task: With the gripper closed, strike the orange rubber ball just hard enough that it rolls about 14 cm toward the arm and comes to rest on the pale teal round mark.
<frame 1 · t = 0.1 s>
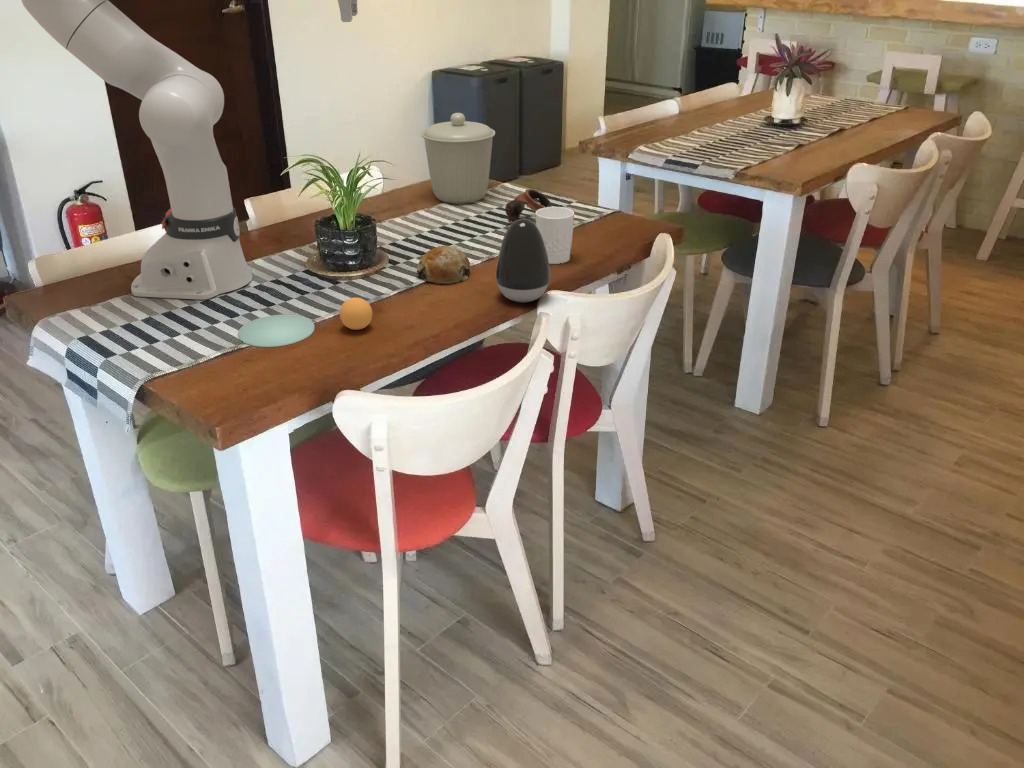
hand: (349, 18, 152), 48 cm above the table, tool pointing down, fingers open, 8 cm apart
brown curved piece: (525, 222, 206), on the table
canister: (460, 199, 223), on the table
bread roll: (443, 277, 176), on the table
ball: (356, 313, 153), on the table
white cup: (553, 259, 184), on the table
dark grey egg shape: (523, 297, 166), on the table
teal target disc: (276, 330, 153), on the table
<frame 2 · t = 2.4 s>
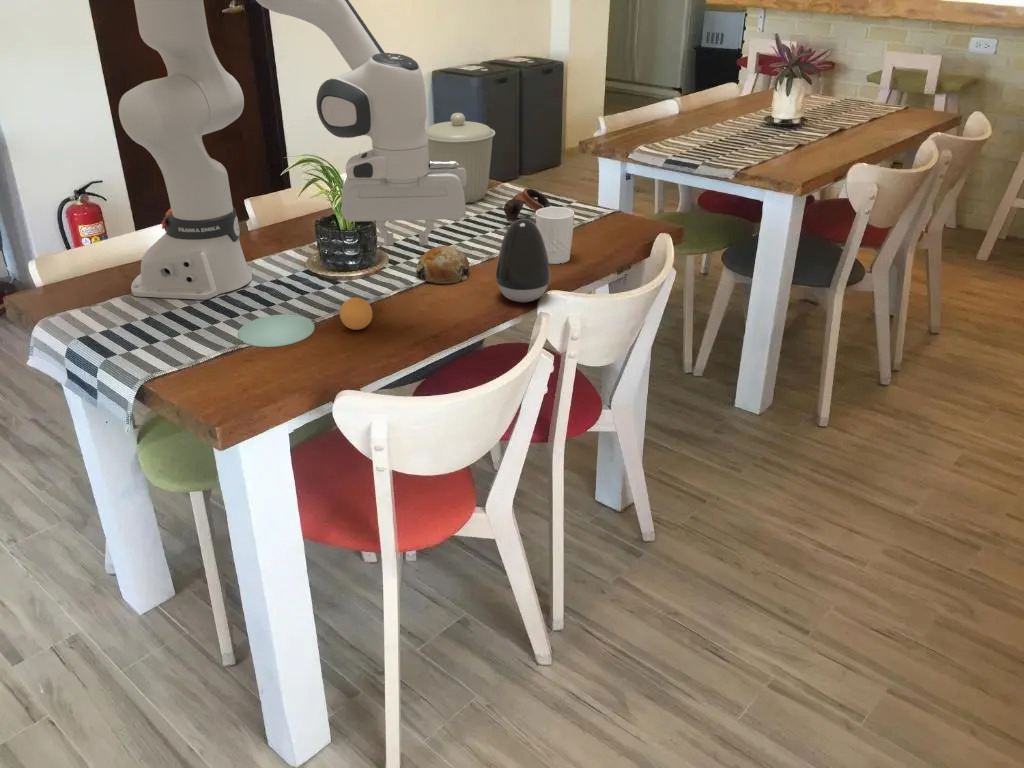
hand: (406, 244, 147), 15 cm above the table, tool pointing down, fingers open, 4 cm apart
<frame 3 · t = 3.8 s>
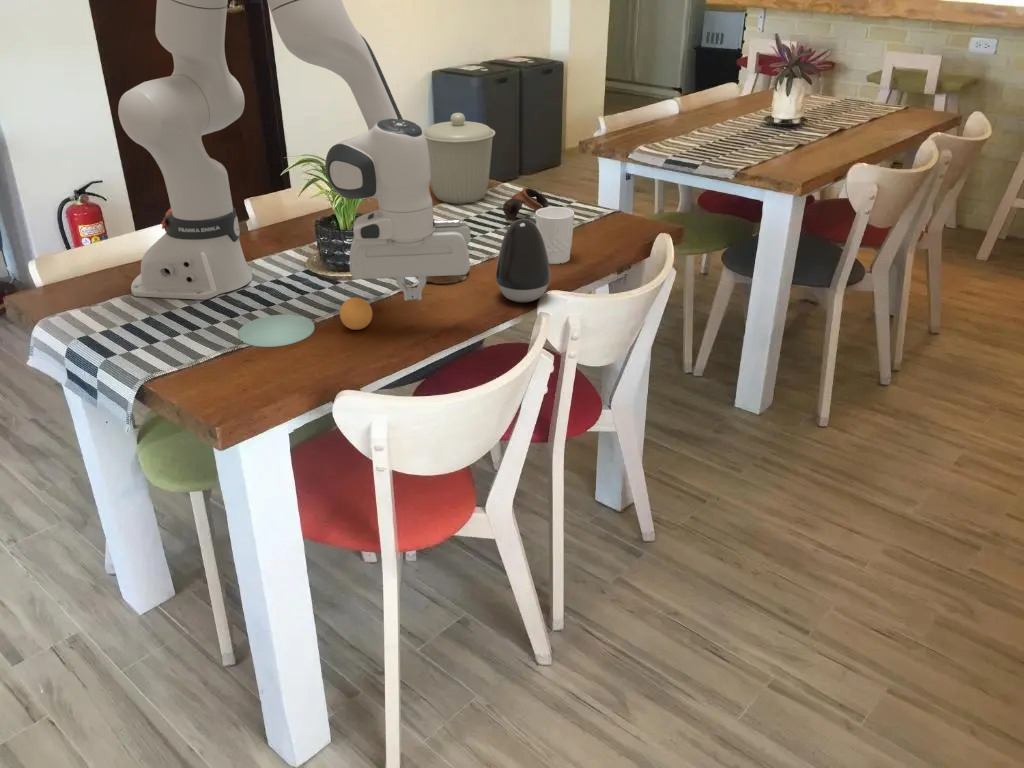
hand: (413, 299, 152), 5 cm above the table, tool pointing down, fingers closed
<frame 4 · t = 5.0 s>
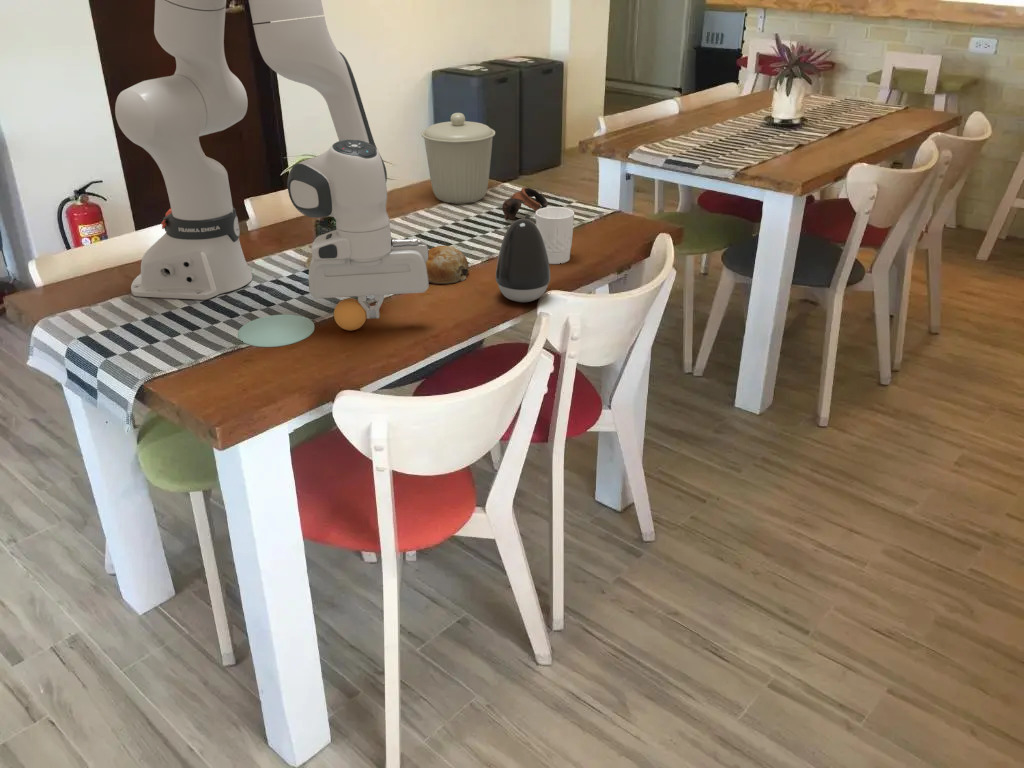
hand: (373, 317, 153), 2 cm above the table, tool pointing down, fingers closed
ball: (350, 314, 152), on the table, touching gripper
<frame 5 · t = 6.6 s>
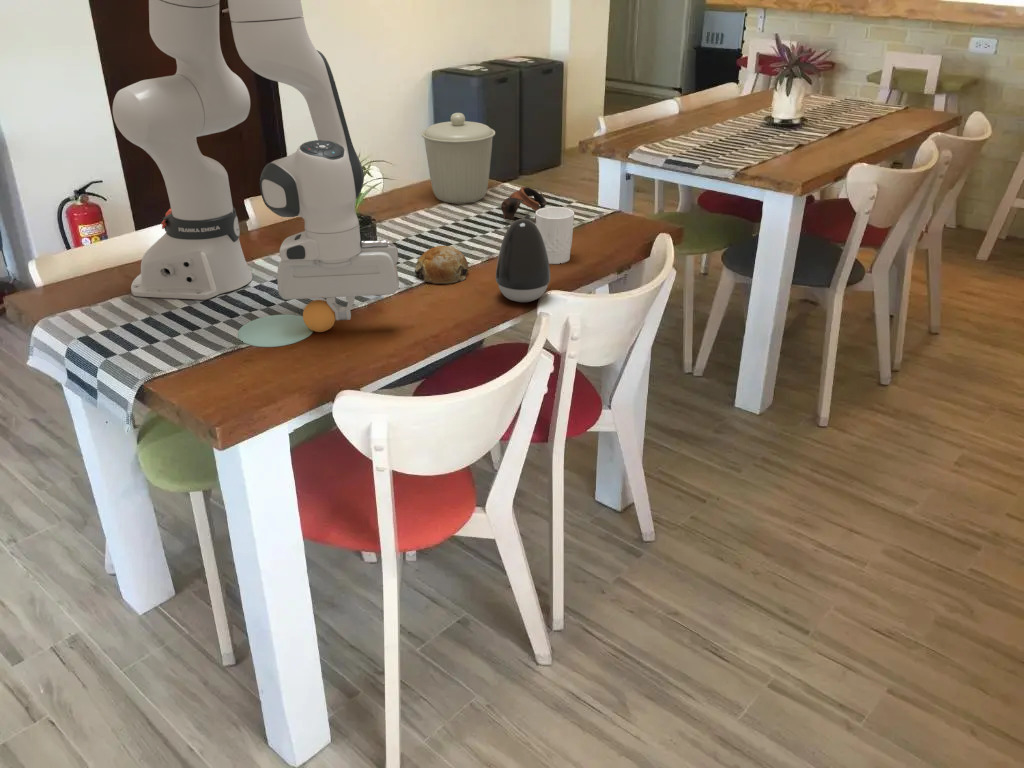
hand: (343, 318, 152), 2 cm above the table, tool pointing down, fingers closed
ball: (319, 315, 152), on the table, touching gripper
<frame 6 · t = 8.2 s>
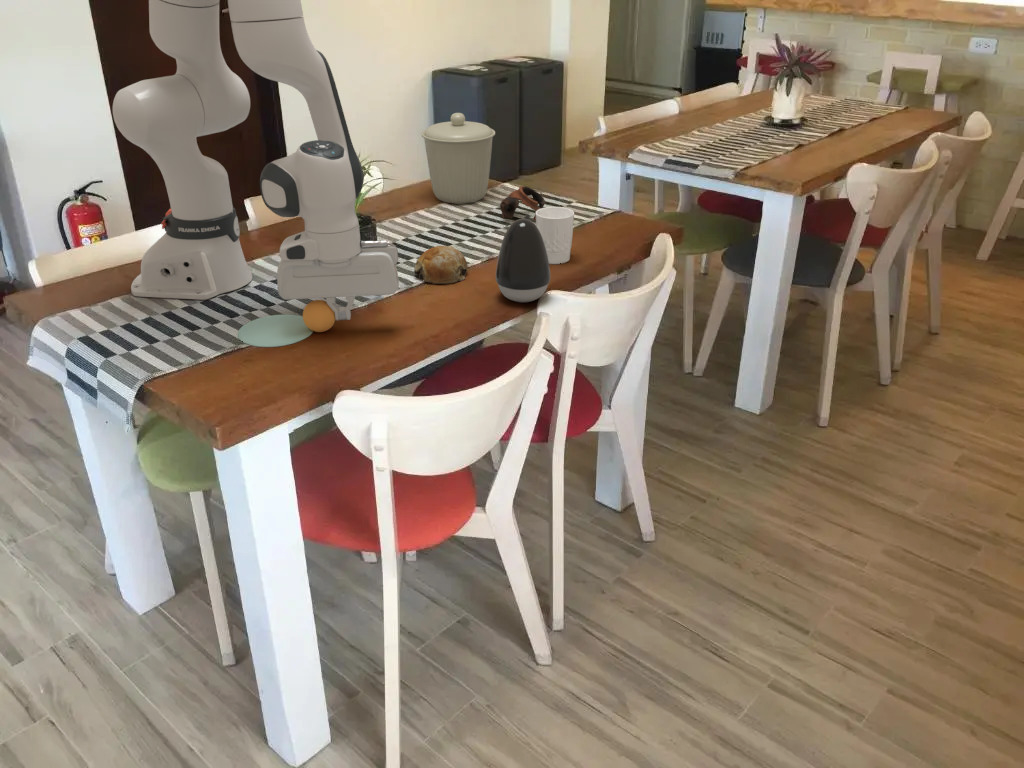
hand: (343, 318, 152), 2 cm above the table, tool pointing down, fingers closed
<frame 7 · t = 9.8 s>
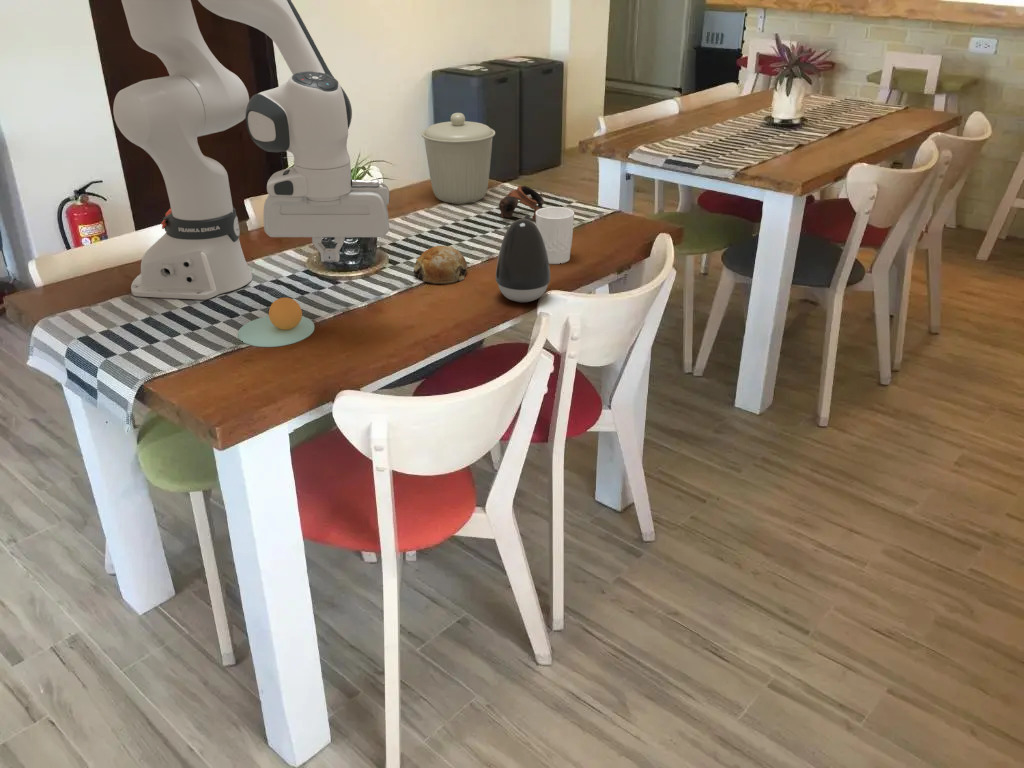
hand: (330, 260, 148), 12 cm above the table, tool pointing down, fingers closed
ball: (285, 313, 153), on the table
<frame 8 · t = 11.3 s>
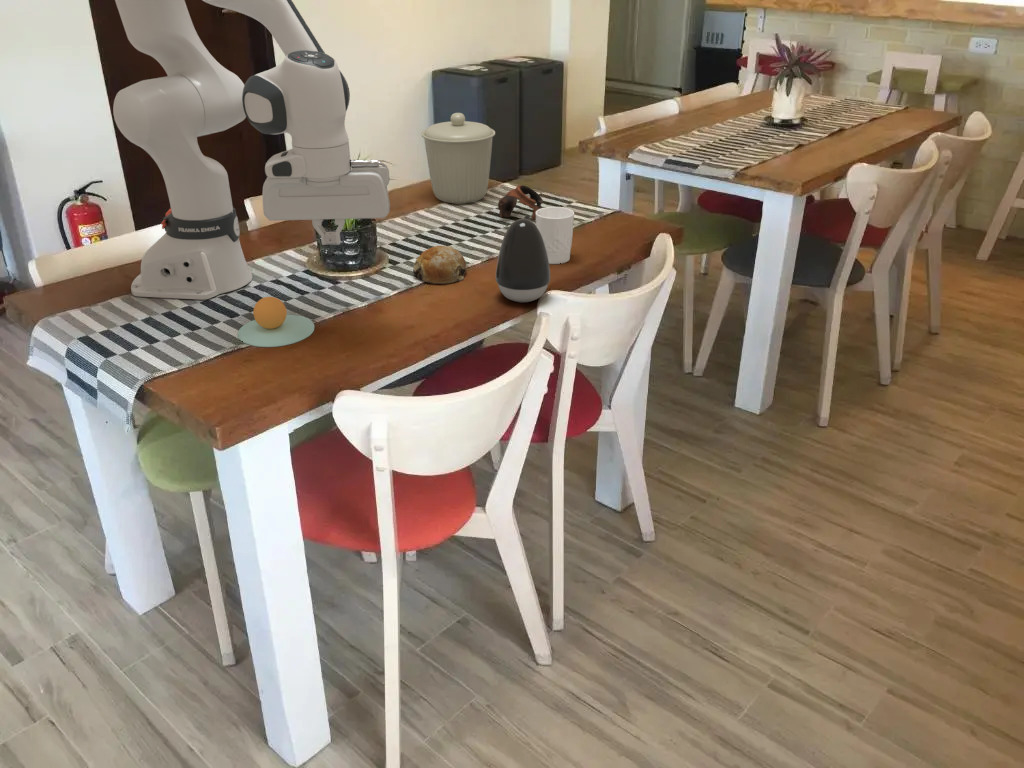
hand: (331, 243, 146), 16 cm above the table, tool pointing down, fingers closed
ball: (270, 312, 153), on the table
at the end: ball 1.8 cm from the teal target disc (horizontally); ball at rest at the end (0.0 cm/s); ball moved 15.1 cm from its start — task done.
